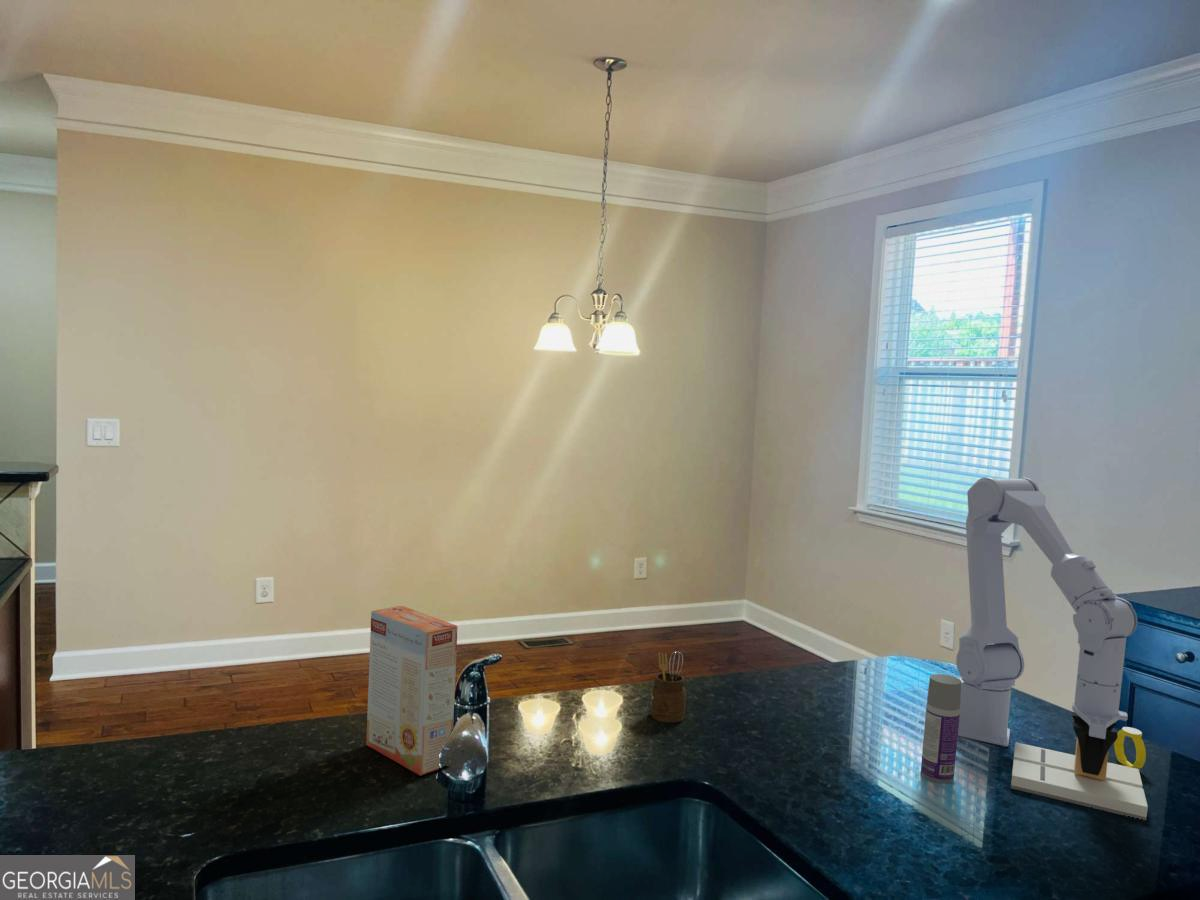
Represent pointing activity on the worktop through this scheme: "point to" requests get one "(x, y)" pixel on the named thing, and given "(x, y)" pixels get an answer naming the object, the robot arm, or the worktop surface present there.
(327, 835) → the worktop surface
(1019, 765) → the fader console
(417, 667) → the cracker box
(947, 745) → the container
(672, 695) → the utensil holder
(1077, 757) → the fader tab
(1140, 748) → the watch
